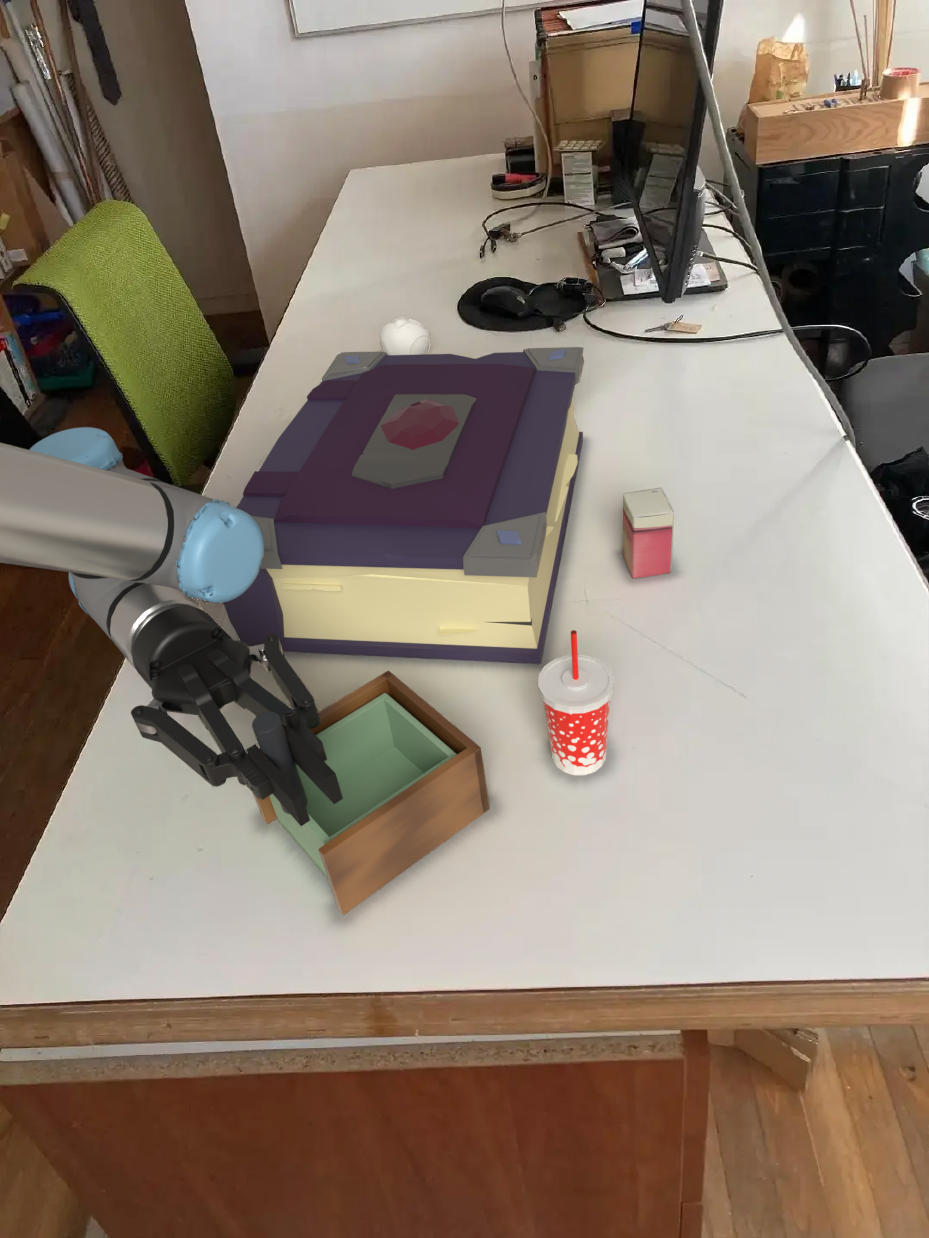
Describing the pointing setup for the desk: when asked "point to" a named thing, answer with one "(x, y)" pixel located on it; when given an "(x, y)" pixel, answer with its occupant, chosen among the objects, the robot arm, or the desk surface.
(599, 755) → the beverage cup
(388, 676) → the wooden drawer casing
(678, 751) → the desk surface
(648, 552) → the small box
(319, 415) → the book
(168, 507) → the robot arm
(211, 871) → the desk surface
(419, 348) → the white lumpy ball
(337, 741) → the green open box
